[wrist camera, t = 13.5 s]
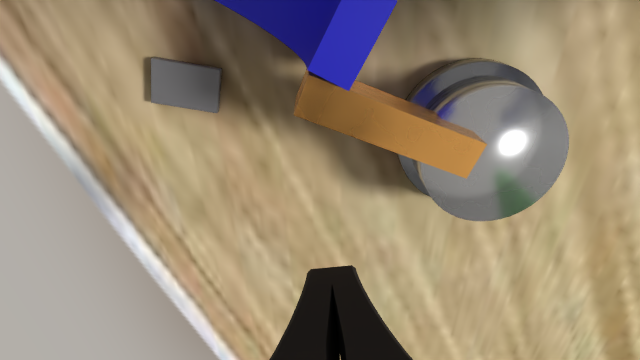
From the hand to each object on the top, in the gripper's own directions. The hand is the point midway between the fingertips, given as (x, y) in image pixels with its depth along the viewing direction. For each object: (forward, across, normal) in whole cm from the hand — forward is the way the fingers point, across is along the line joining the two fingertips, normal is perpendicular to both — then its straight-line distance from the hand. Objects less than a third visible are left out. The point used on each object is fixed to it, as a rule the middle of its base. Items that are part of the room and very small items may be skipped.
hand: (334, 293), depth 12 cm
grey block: (+9, +6, -5) cm, 12 cm away
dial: (+8, -5, -2) cm, 10 cm away
